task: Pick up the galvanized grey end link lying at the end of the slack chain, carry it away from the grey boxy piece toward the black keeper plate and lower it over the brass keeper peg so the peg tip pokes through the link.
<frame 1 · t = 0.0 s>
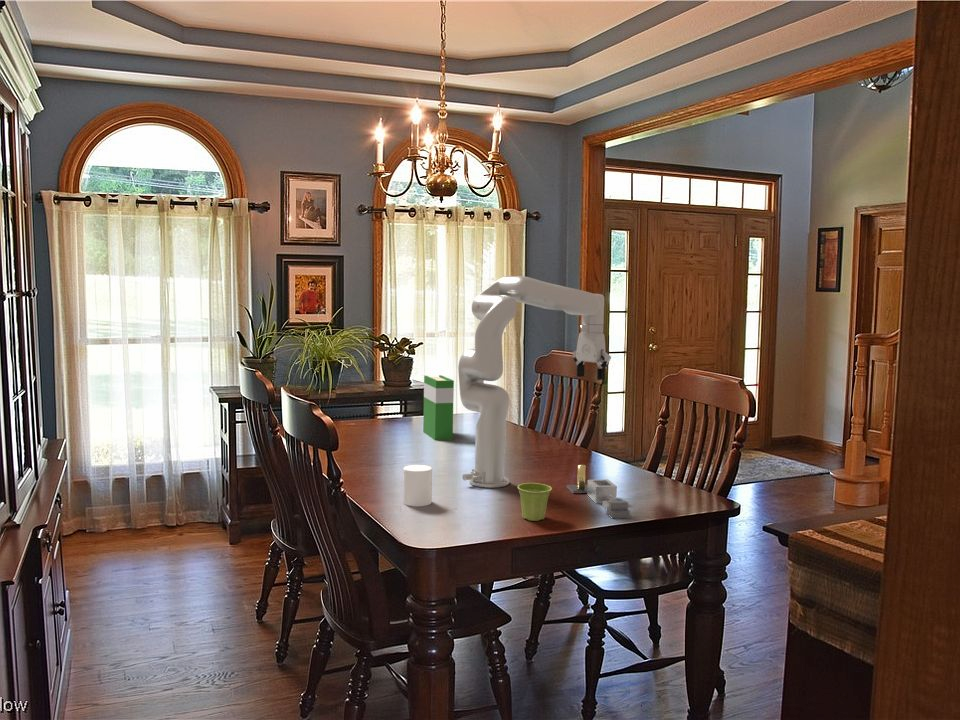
hand: (590, 378, 286), 31 cm above the table, tool pointing down, fingers open, 9 cm apart
plant pot: (533, 518, 225), on the table
keeper post: (580, 490, 255), on the table
hardback book: (437, 436, 337), on the table
grey boxy piece: (618, 515, 228), on the table
slack link: (611, 508, 236), on the table
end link: (601, 499, 245), on the table
white cylinder: (416, 501, 239), on the table
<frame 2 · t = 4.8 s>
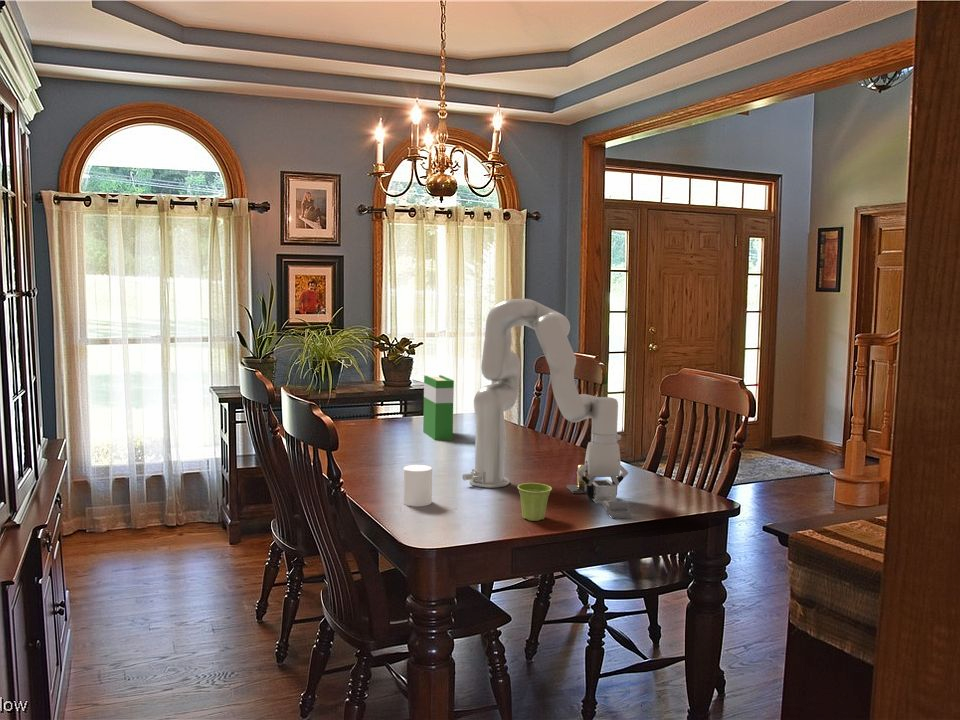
hand: (601, 497, 245), 1 cm above the table, tool pointing down, fingers closed on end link, 6 cm apart
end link: (601, 499, 245), on the table, touching gripper
everything else where it was.
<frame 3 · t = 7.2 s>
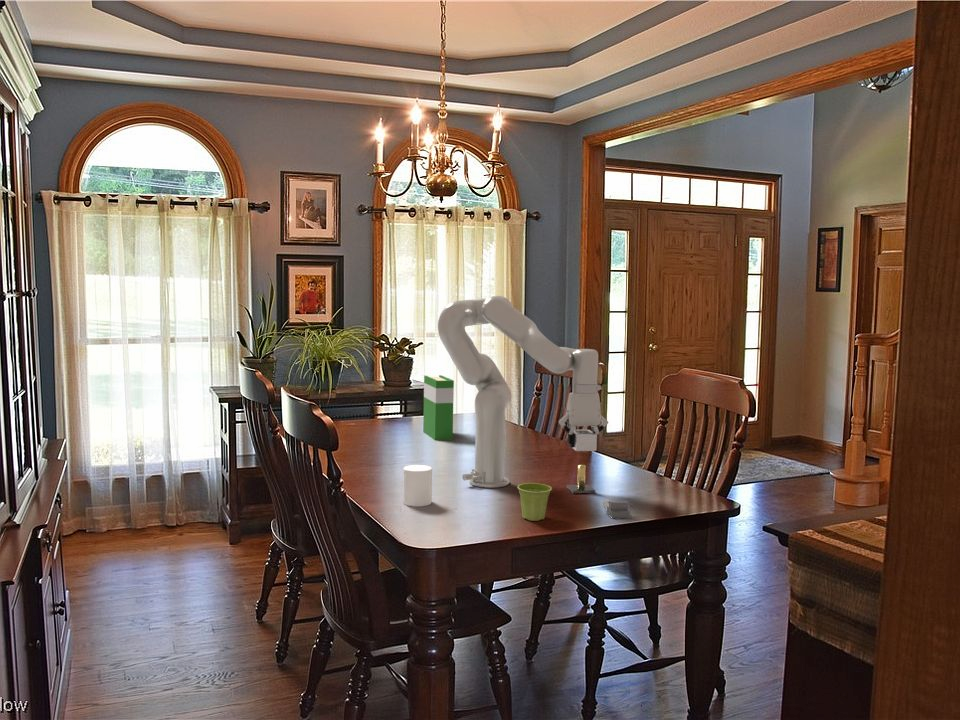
hand: (582, 446, 253), 14 cm above the table, tool pointing down, fingers closed on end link, 6 cm apart
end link: (582, 448, 253), point 14 cm above the table, touching gripper
everything else where it was.
when the fingers open (5 cm above the table, at t = 9.7 s): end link drops 3 cm, resting on keeper post.
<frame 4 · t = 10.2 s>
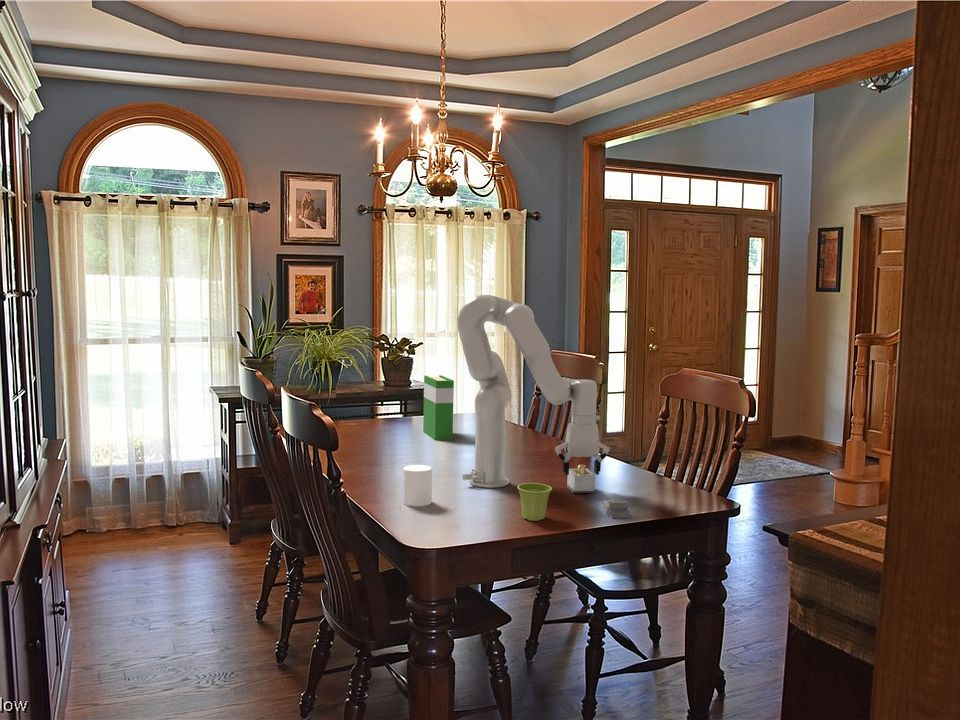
hand: (581, 474, 254), 5 cm above the table, tool pointing down, fingers open, 9 cm apart
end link: (580, 487, 255), point 1 cm above the table, touching keeper post
everything else where it was.
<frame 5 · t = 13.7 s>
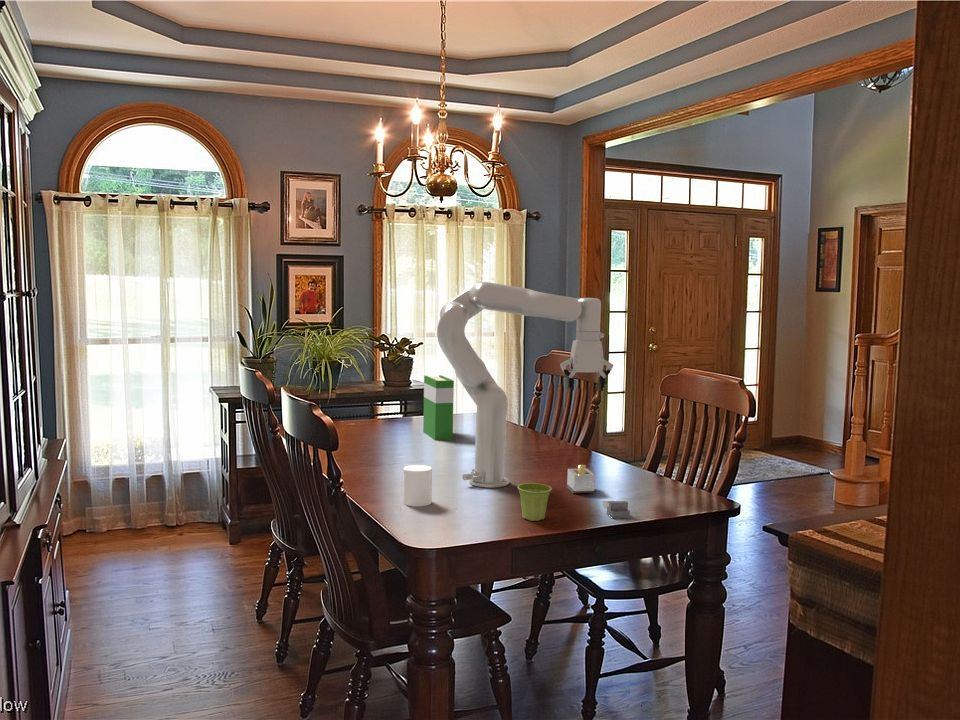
hand: (585, 389, 262), 30 cm above the table, tool pointing down, fingers open, 9 cm apart
nothing on the table moved.
at the end: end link 0.1 cm off-centre on the keeper post, point 1.0 cm above the keeper post's base; the gripper is holding nothing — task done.
